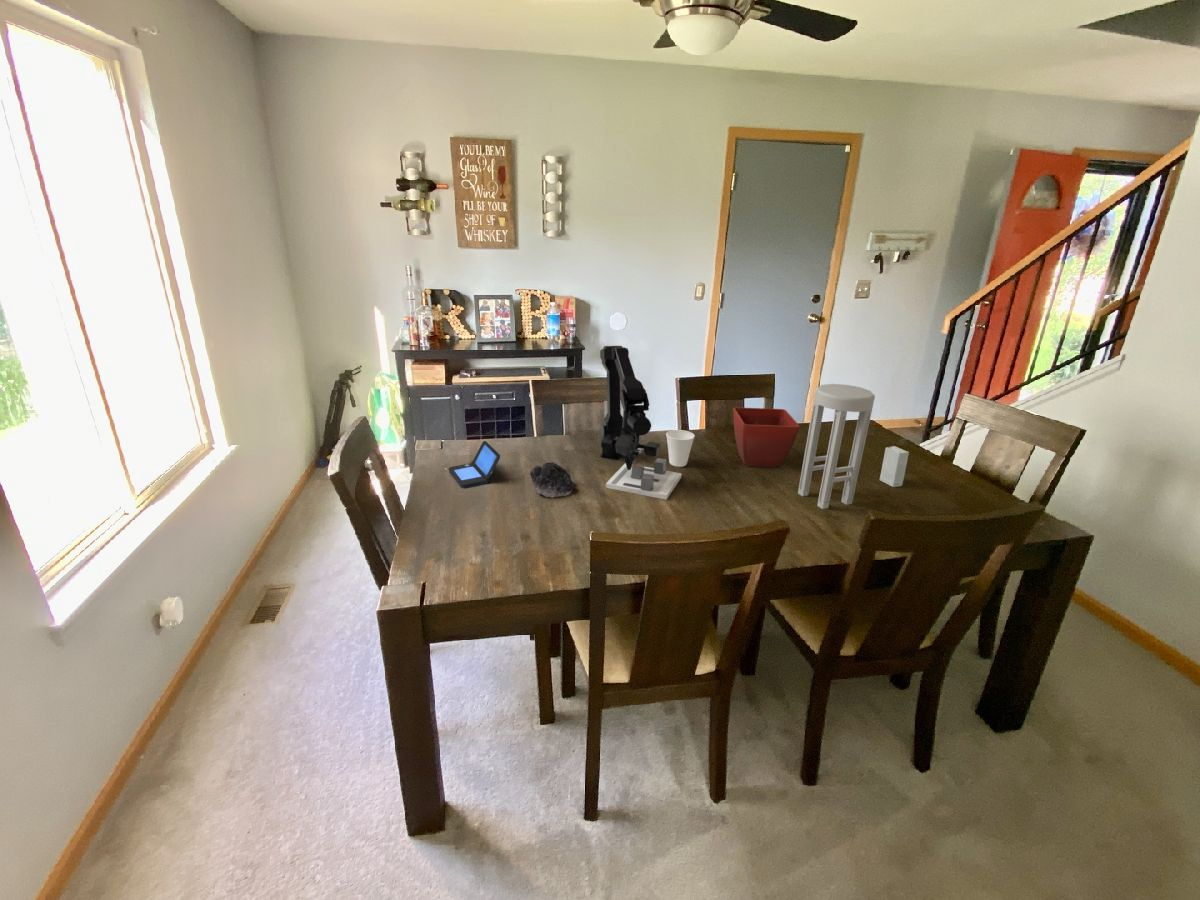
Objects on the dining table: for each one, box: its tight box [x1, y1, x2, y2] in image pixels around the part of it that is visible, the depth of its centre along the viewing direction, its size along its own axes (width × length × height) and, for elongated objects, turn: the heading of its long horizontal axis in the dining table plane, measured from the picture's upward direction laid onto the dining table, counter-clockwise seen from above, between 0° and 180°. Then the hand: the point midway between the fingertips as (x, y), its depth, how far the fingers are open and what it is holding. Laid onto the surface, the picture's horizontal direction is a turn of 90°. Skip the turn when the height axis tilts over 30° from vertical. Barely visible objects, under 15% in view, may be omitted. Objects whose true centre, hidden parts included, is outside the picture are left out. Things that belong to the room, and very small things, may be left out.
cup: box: [665, 429, 696, 468], centre depth 199 cm, size 10×10×11 cm
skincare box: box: [879, 445, 910, 488], centre depth 188 cm, size 6×4×12 cm
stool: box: [797, 383, 876, 510], centre depth 171 cm, size 16×16×35 cm
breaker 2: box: [653, 457, 667, 475], centre depth 189 cm, size 3×4×4 cm
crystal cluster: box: [529, 461, 575, 498], centre depth 178 cm, size 13×14×10 cm
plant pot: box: [733, 406, 801, 468], centre depth 202 cm, size 19×19×17 cm
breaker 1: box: [641, 474, 654, 491], centre depth 177 cm, size 3×4×4 cm
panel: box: [605, 463, 682, 500], centre depth 185 cm, size 20×18×2 cm
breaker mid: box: [631, 462, 645, 479], centre depth 185 cm, size 3×4×4 cm
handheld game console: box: [448, 440, 501, 489], centre depth 185 cm, size 16×13×9 cm
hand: (629, 469), depth 186 cm, fingers closed
